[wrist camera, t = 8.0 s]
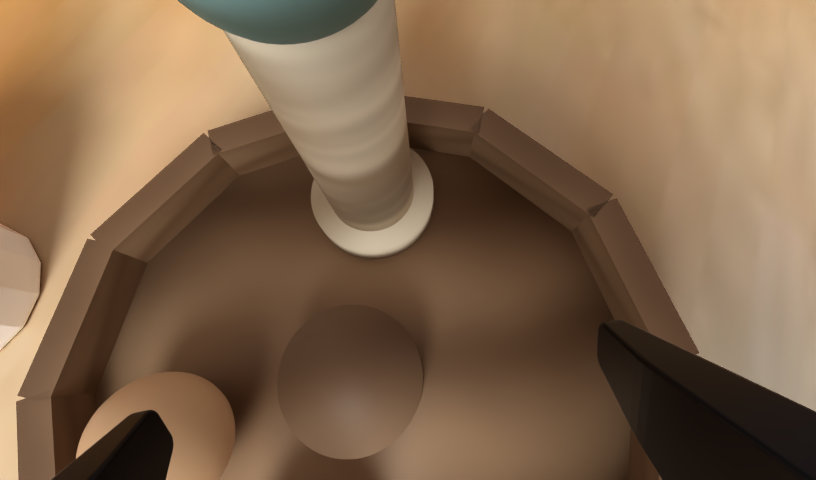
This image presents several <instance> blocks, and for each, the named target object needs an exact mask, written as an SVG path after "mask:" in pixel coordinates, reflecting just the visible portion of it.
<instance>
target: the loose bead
mask: <svg viewBox="0 0 816 480" xmlns="http://www.w3.org/2000/svg"><path fill="white" fill-rule="evenodd" d="M146 410H154V411H156V412H157V413H158V414H159V416H160V417H161V419H162V420H163V422H164V424H165V425H166V427H167V428H168V430H169V432H170V433H171V435H172V437H173V443H174V445H173V452H172V456H171V460H170V464H169V469H168V473H167V477H166V480H219V479H220V477H221V475H222V474H223V472H224V470H225V468H226V466H227V464H228V462H229V460H230V457H231V454H232V451H233V447H234V442H235V420H234V415H233V411H232V408H231V406H230V404H229V402H228V400H227V398H226V397H225V395H224V394H223V393H222V392H221V391H220V390H219V389H218V388H217V387H216V386H215V385H214V384H213V383H211V382H210V381H208V380H206V379H204V378H202V377H200V376H197V375H194V374H191V373H185V372H163V373H156V374H152V375H148V376H145V377H142V378H140V379H137V380H135V381H133V382H131V383H129V384H128V385H126V386H124V387H122V388H121V389H119V390H118V391H117V392H115V393H114V394H113V395H112V396H111V397H109V398H108V399H107V400H106V401H105V402H104V403H103V404H102V405H101V406H100V407H99V408H98V409H97V411H96V412H95V413H94V415H93V416H92V417H91V419H90V421H89V422H88V424H87V426H86V427H85V429H84V431H83V434H82V436H81V439H80V442H79V445H78V449H77V454H76V459H77V458H78V457H79V456H80V455H81V454H83V453H84V452H85V451H86V450H87V449H89V448H90V447H91V446H92V445H93V444H95V443H96V442H97V441H98V440H100V439H101V438H102V437H103V436H104V435H106V434H107V433H108V432H109V431H110V430H112V429H113V428H114V427H115V426H116V425H118V424H119V423H120V422H121V421H123V420H124V419H125V418H126V417H127V416H129V415H130V414H133V413H136V412H141V411H146Z"/></svg>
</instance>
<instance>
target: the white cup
mask: <svg viewBox="0 0 816 480" xmlns="http://www.w3.org/2000/svg"><path fill="white" fill-rule="evenodd" d="M40 270H41V262H40V260H39V258H38V256H37V254H36V252H35V250H34V248H33V247H32V245H31V243H30V241H29V239H28V238H27V237H25V236H23V235H22V234H20V233H18V232H16V231H14V230H12V229H10V228H8V227H7V226H5V225H3V224H0V350H1V349H2V348H3V347H4V346H5V345H6V344H7V343H8V342H9V341H10V340H11V339H12V338H13V337H14V336H15V335H16V334H17V333H18V332H19V331H20V330H21V329H22V328H23V327H24V325H25V323H26V321H27V319H28V317H29V315H30V313H31V311H32V309H33V307H34V305H35V302H36V300H37V298H38V296H39V293H40Z"/></svg>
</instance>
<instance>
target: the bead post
mask: <svg viewBox="0 0 816 480" xmlns="http://www.w3.org/2000/svg"><path fill="white" fill-rule="evenodd" d="M178 1H179V2H180V3H182V4H183V5H184V6H185V7H187V8H188V9H189V10H191V11H192V12H193V13H195V14H196V15H198V16H199V17H201V18H202V19H204V20H205V21H207V22H209V23H211V24H213V25H214V26H216V27H218V28H220V29H222V30H223V31H224V32H225V34H226V36H227V37H228V39H229V41H230V42H231V44H232V45H233V47H234V49H235V50H236V52H237V54H238V55H239V57H240V59H241V60H242V62H243V63H244V65H245V67H246V68H247V70H248V72H249V73H250V75H251V76H252V78H253V80H254V81H255V83H256V85H257V86H258V88H259V89H260V91H261V93H262V94H263V96H264V98H265V99H266V101H267V103H268V104H269V106H270V107H271V109H272V111H273V112H274V114H275V116H276V117H277V119H278V120H279V122H280V124H281V125H282V127H283V129H284V130H285V132H286V133H287V135H288V137H289V138H290V140H291V142H292V143H293V145H294V147H295V148H296V150H297V151H298V153H299V155H300V156H301V158H302V160H303V161H304V163H305V164H306V166H307V168H308V169H309V171H310V173H311V174H312V176H313V177H314V180H313V184H312V188H311V205H312V210H313V213H314V216H315V219H316V220H317V222H318V224H319V226H320V227H321V228H322V230H323V231H324V232H325V234H326V235H327V236H328V238H329V239H330V240H331V241H332V242H333V243H334V244H335V245H336V246H337V247H339V248H340V249H341V250H343V251H345V252H346V253H348V254H351V255H353V256H357V257H360V258H367V259H380V258H386V257H390V256H394V255H396V254H399V253H401V252H403V251H405V250H406V249H408V248H409V247H411V246H412V245H413V244H414V243H415V242H416V241H417V240H419V238H420V237H421V236H422V235H423V233H424V232H425V230H426V229H427V227H428V225H429V222H430V220H431V216H432V213H433V181H432V177H431V174H430V171H429V169H428V167H427V165H426V164H425V162H424V161H423V159H422V158H421V157H420V156H419V155H418V154H417V153H416V152H415V151H414V150H412V149H411V148H410V147H409V138H408V128H407V118H406V108H405V98H404V88H403V78H402V68H401V58H400V48H399V38H398V29H397V19H396V9H395V0H178Z"/></svg>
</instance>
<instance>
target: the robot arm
mask: <svg viewBox="0 0 816 480" xmlns="http://www.w3.org/2000/svg"><path fill="white" fill-rule="evenodd" d="M597 358H598V362H599V365H600V367H601V369H602V371H603V373H604V375H605V377H606V379H607V381H608V383H609V385H610V387H611V389H612V391H613V393H614V395H615V397H616V399H617V401H618V403H619V405H620V407H621V409H622V411H623V413H624V415H625V417H626V419H627V421H628V423H629V425H630V427H631V429H632V431H633V433H634V435H635V437H636V438H637V440H638V442H639V443H640V445H641V447H642V448H643V450H644V451H645V453H646V455H647V456H648V458H649V459H650V461H651V463H652V464H653V466H654V467H655V469H656V470H657V472H658V474H659V475H660V477H661V478H662V480H816V412H815V411H813V410H811V409H809V408H807V407H805V406H803V405H801V404H798V403H796V402H794V401H792V400H790V399H788V398H786V397H784V396H782V395H780V394H777V393H775V392H773V391H771V390H769V389H767V388H765V387H763V386H761V385H758V384H756V383H754V382H752V381H750V380H748V379H746V378H744V377H742V376H739V375H737V374H735V373H733V372H731V371H729V370H727V369H725V368H723V367H721V366H718V365H716V364H714V363H712V362H710V361H708V360H706V359H704V358H702V357H699V356H697V355H695V354H693V353H691V352H689V351H687V350H685V349H683V348H681V347H678V346H676V345H674V344H672V343H670V342H668V341H666V340H664V339H662V338H659V337H657V336H655V335H653V334H651V333H649V332H647V331H645V330H643V329H641V328H638V327H636V326H634V325H632V324H630V323H628V322H626V321H623V320H612V321H607V322H603V323H601V324H600V325H599V327H598V341H597ZM173 445H174V443H173V437H172V435H171V433H170V432H169V430H168V428H167V427H166V425H165V424H164V422H163V420H162V419H161V417H160V416H159V414H158V413H157V412H156V411H154V410H146V411H141V412H136V413H133V414H130V415H129V416H127V417H126V418H125V419H124V420H123V421H121V422H120V423H119V424H118V425H116V426H115V427H114V428H113V429H112V430H110V431H109V432H108V433H107V434H106V435H104V436H103V437H102V438H101V439H100V440H98V441H97V442H96V443H95V444H93V445H92V446H91V447H90V448H89V449H87V450H86V451H85V452H84V453H83V454H81V455H80V456H79V457H78V458H77V459H75V460H74V461H73V462H72V463H70V464H69V465H68V466H67V467H66V468H64V469H63V470H62V471H61V472H60V473H58V474H57V475H56V476H55V477H53V478H52V479H51V480H166V477H167V473H168V469H169V464H170V460H171V456H172V452H173Z"/></svg>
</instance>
